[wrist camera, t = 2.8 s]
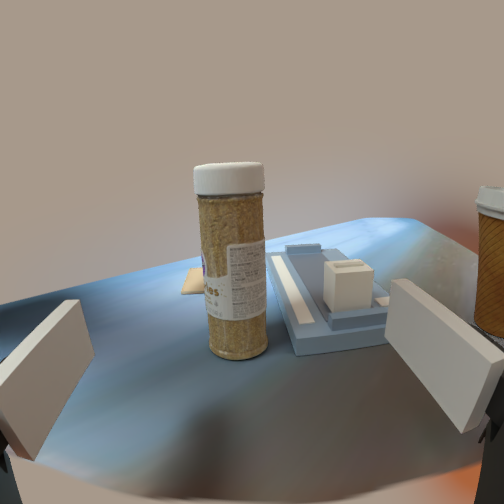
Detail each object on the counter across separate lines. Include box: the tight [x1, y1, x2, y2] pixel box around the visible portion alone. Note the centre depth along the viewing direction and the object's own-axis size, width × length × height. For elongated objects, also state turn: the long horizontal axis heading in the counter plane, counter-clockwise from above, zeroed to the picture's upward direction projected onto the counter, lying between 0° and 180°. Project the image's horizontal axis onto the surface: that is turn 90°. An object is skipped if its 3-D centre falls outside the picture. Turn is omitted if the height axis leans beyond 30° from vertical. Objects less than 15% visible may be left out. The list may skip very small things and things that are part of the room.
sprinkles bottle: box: [193, 162, 268, 360], centre depth 22 cm, size 5×5×13 cm
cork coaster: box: [181, 268, 205, 294], centre depth 38 cm, size 8×8×1 cm
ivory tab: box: [323, 259, 374, 313], centre depth 25 cm, size 3×3×4 cm
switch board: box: [265, 244, 390, 356], centre depth 32 cm, size 10×22×2 cm, turn 4°
